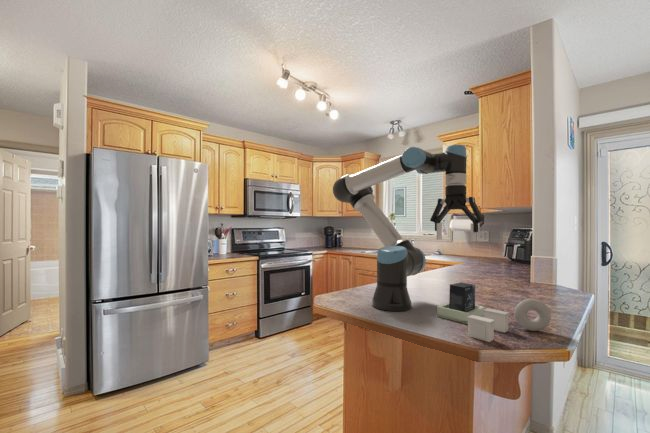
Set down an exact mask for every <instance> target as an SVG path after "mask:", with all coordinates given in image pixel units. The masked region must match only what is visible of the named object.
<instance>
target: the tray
mask: <svg viewBox="0 0 650 433" xmlns="http://www.w3.org/2000/svg"><path fill="white" fill-rule="evenodd" d="M484 309H486V307H485V306H481V305H477V304H475V309H474V310H472V311H469V312H462V311H458V310H453V309H449V302H447V303H444V304H441V305H438V306H437V307H436V317H437V318H442V319H446V320H449V321H453V320H454V321H453V322H457V321H458V322H457V323H461V322H462V323H461V324H464V325H468V319H467V317H468V316H470V315H475V316H480V317H484V312H483V310H484Z"/></svg>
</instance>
